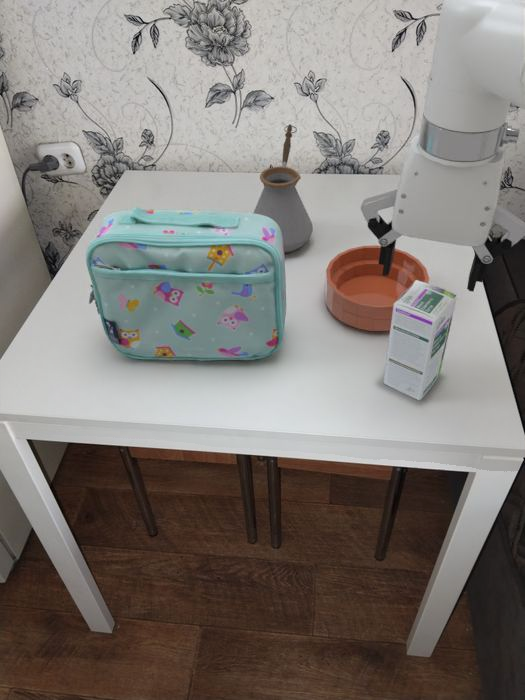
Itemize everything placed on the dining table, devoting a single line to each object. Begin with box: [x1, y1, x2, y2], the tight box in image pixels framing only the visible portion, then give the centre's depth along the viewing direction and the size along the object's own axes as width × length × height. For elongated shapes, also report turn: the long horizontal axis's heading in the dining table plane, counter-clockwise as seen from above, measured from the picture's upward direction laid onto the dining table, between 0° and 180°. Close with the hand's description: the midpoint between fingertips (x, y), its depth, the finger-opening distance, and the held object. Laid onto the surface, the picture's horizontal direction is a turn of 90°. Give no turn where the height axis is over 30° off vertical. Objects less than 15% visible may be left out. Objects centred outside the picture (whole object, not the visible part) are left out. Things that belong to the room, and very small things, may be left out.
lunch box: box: [85, 206, 287, 362], centre depth 80 cm, size 27×10×21 cm, turn 87°
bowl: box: [324, 244, 430, 332], centre depth 91 cm, size 15×15×6 cm
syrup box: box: [383, 280, 458, 402], centre depth 76 cm, size 6×6×14 cm
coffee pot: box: [253, 123, 314, 254], centre depth 104 cm, size 21×12×15 cm, turn 171°
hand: (428, 276), depth 69 cm, fingers open, 9 cm apart
